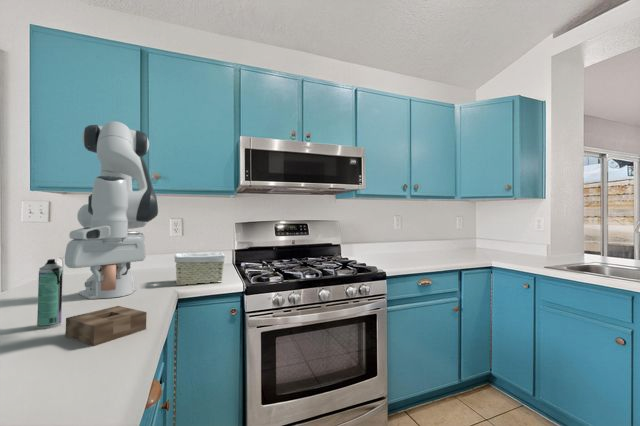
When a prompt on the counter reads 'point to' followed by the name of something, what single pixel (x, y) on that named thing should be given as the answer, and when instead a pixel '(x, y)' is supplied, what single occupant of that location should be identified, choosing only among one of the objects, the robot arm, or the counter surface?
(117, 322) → the bore block
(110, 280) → the pin
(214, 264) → the storage basket
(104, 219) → the robot arm
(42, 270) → the spray can
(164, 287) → the counter surface
